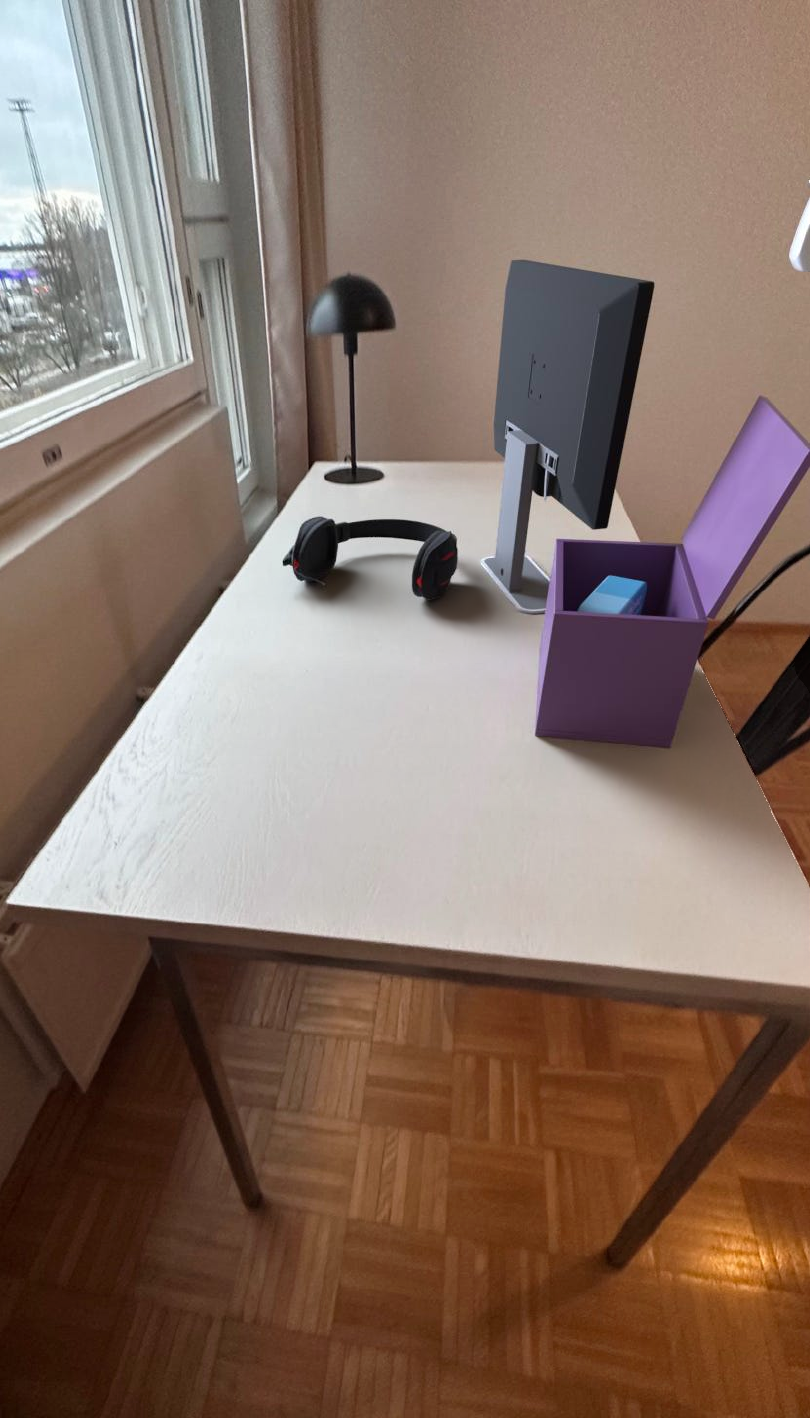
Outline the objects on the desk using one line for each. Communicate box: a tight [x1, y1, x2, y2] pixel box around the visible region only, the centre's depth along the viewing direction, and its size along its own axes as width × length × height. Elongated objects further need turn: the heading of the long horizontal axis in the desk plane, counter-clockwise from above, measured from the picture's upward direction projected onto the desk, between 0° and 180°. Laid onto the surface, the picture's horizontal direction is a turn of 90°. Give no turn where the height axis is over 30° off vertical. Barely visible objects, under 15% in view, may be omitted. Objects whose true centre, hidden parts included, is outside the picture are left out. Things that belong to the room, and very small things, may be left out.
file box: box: [534, 538, 709, 749], centre depth 86 cm, size 15×22×15 cm
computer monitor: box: [480, 259, 655, 615], centre depth 105 cm, size 41×8×40 cm, turn 9°
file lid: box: [680, 394, 810, 620], centre depth 75 cm, size 16×22×1 cm
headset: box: [282, 516, 459, 601], centre depth 118 cm, size 28×26×9 cm
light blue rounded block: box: [577, 575, 647, 615], centre depth 87 cm, size 12×4×12 cm, turn 146°
